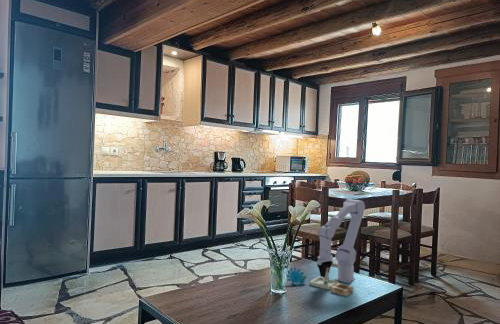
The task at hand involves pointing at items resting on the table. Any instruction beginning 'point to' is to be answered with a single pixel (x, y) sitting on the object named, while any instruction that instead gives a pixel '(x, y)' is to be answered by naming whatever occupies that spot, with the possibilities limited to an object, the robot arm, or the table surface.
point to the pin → (326, 277)
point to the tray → (319, 283)
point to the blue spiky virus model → (296, 276)
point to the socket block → (342, 289)
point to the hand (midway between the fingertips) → (324, 275)
